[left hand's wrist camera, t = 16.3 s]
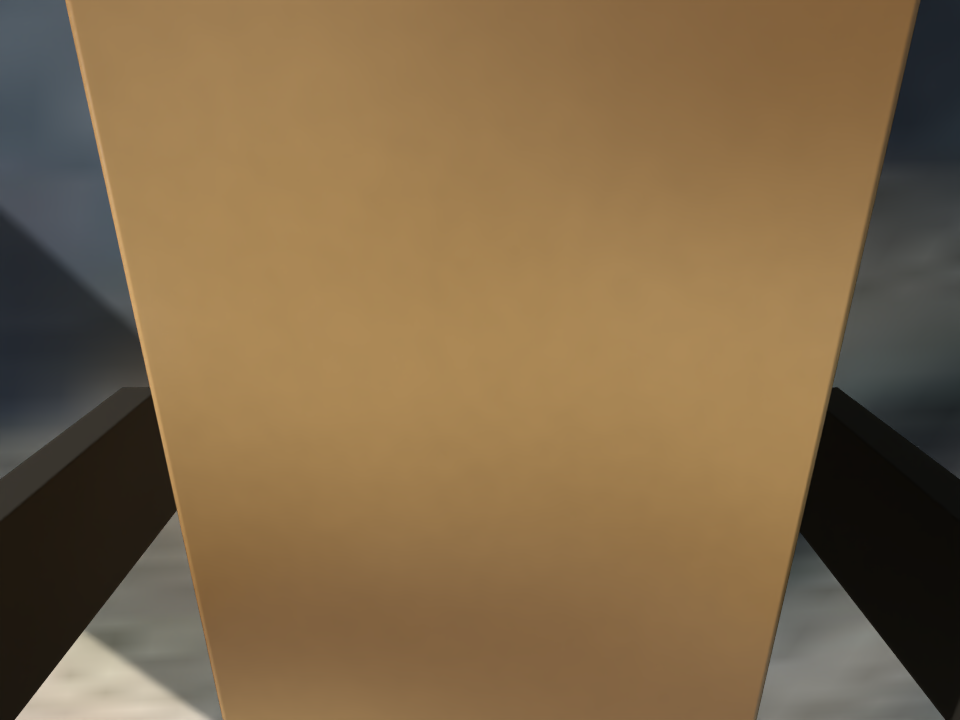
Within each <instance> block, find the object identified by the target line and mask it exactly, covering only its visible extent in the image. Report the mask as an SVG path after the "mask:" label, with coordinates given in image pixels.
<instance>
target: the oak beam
mask: <svg viewBox="0 0 960 720" xmlns="http://www.w3.org/2000/svg"><path fill="white" fill-rule="evenodd" d="M65 1H66V5H67V10H68V15H69V19H70V24H71V28H72V33H73V37H74V42H75V47H76V51H77V56H78V60H79V65H80V69H81V74H82V79H83V83H84V88H85V92H86V97H87V101H88V106H89V110H90V115H91V120H92V124H93V129H94V133H95V138H96V142H97V147H98V152H99V156H100V161H101V165H102V170H103V174H104V179H105V184H106V188H107V193H108V197H109V202H110V206H111V211H112V215H113V220H114V225H115V229H116V234H117V238H118V243H119V247H120V252H121V257H122V261H123V266H124V270H125V275H126V279H127V284H128V288H129V293H130V298H131V302H132V307H133V311H134V316H135V320H136V325H137V330H138V334H139V339H140V343H141V348H142V352H143V357H144V362H145V366H146V371H147V375H148V380H149V384H150V389H151V393H152V398H153V403H154V407H155V412H156V416H157V421H158V425H159V430H160V435H161V439H162V444H163V448H164V453H165V457H166V462H167V467H168V471H169V476H170V480H171V485H172V489H173V494H174V498H175V503H176V508H177V512H178V517H179V521H180V526H181V530H182V535H183V540H184V544H185V549H186V553H187V558H188V562H189V567H190V572H191V576H192V581H193V585H194V590H195V594H196V599H197V603H198V608H199V613H200V617H201V622H202V626H203V631H204V635H205V640H206V645H207V649H208V654H209V658H210V663H211V667H212V672H213V676H214V681H215V686H216V690H217V695H218V699H219V704H220V708H221V713H222V718H223V720H756V719H757V715H758V710H759V706H760V701H761V697H762V693H763V688H764V684H765V680H766V675H767V671H768V666H769V662H770V658H771V653H772V649H773V644H774V640H775V636H776V631H777V627H778V623H779V618H780V614H781V609H782V605H783V601H784V596H785V592H786V587H787V583H788V579H789V574H790V570H791V566H792V561H793V557H794V552H795V548H796V544H797V539H798V535H799V530H800V526H801V522H802V517H803V513H804V509H805V504H806V500H807V495H808V491H809V487H810V482H811V478H812V473H813V469H814V465H815V460H816V456H817V452H818V447H819V443H820V438H821V434H822V430H823V425H824V421H825V416H826V412H827V408H828V403H829V399H830V395H831V390H832V386H833V381H834V377H835V373H836V368H837V364H838V359H839V355H840V351H841V346H842V342H843V338H844V333H845V329H846V324H847V320H848V316H849V311H850V307H851V302H852V298H853V294H854V289H855V285H856V281H857V276H858V272H859V267H860V263H861V259H862V254H863V250H864V245H865V241H866V237H867V232H868V228H869V224H870V219H871V215H872V210H873V206H874V202H875V197H876V193H877V188H878V184H879V180H880V175H881V171H882V167H883V162H884V158H885V153H886V149H887V145H888V140H889V136H890V131H891V127H892V123H893V118H894V114H895V110H896V105H897V101H898V96H899V92H900V88H901V83H902V79H903V74H904V70H905V66H906V61H907V57H908V53H909V48H910V44H911V39H912V35H913V31H914V26H915V22H916V17H917V13H918V9H919V4H920V0H65Z"/></svg>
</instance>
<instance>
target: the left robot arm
mask: <svg viewBox="0 0 960 720" xmlns="http://www.w3.org/2000/svg"><path fill="white" fill-rule="evenodd" d="M176 511H177V508H176V503H175V498H174V494H173V489H172V485H171V480H170V476H169V471H168V467H167V462H166V457H165V453H164V448H163V444H162V439H161V435H160V430H159V425H158V421H157V416H156V412H155V407H154V403H153V398H152V393H151V389H150V388H121V389H120V390H119V391H117V392H116V393H115V394H113V395H112V396H111V397H109V398H108V399H107V400H105V401H104V402H103V403H101V404H100V405H99V406H97V407H96V408H95V409H93V410H92V411H91V412H89V413H88V414H87V415H85V416H84V417H83V418H81V419H80V420H79V421H77V422H76V423H75V424H73V425H72V426H71V427H69V428H68V429H67V430H65V431H64V432H63V433H61V434H60V435H59V436H57V437H56V438H55V439H53V440H52V441H51V442H49V443H48V444H47V445H45V446H44V447H43V448H41V449H40V450H39V451H37V452H36V453H35V454H33V455H32V456H31V457H29V458H28V459H27V460H25V461H24V462H23V463H21V464H20V465H19V466H18V467H16V468H15V469H14V470H12V471H11V472H10V473H8V474H7V475H6V476H4V477H3V478H2V479H0V720H15V719H16V717H17V716H18V715H19V714H20V712H21V711H22V710H23V708H24V707H25V706H26V704H27V703H28V702H29V701H30V699H31V698H32V697H33V695H34V694H35V693H36V692H37V690H38V689H39V688H40V686H41V685H42V684H43V682H44V681H45V680H46V679H47V677H48V676H49V675H50V673H51V672H52V671H53V670H54V668H55V667H56V666H57V664H58V663H59V662H60V661H61V659H62V658H63V657H64V655H65V654H66V653H67V651H68V650H69V649H70V648H71V646H72V645H73V644H74V642H75V641H76V640H77V639H78V637H79V636H80V635H81V633H82V632H83V631H84V630H85V628H86V627H87V626H88V624H89V623H90V622H91V620H92V619H93V618H94V617H95V615H96V614H97V613H98V611H99V610H100V609H101V608H102V606H103V605H104V604H105V602H106V601H107V600H108V599H109V597H110V596H111V595H112V593H113V592H114V591H115V589H116V588H117V587H118V586H119V584H120V583H121V582H122V580H123V579H124V578H125V577H126V575H127V574H128V573H129V571H130V570H131V569H132V568H133V566H134V565H135V564H136V562H137V561H138V560H139V558H140V557H141V556H142V555H143V553H144V552H145V551H146V549H147V548H148V547H149V546H150V544H151V543H152V542H153V540H154V539H155V538H156V537H157V535H158V534H159V533H160V531H161V530H162V529H163V527H164V526H165V525H166V524H167V522H168V521H169V520H170V518H171V517H172V516H173V515H174V513H175V512H176ZM799 531H800V533H801V534H802V535H803V537H804V538H805V539H806V540H807V542H808V543H809V544H810V546H811V547H812V548H813V549H814V551H815V552H816V553H817V555H818V556H819V557H820V558H821V560H822V561H823V562H824V564H825V565H826V566H827V568H828V569H829V570H830V571H831V573H832V574H833V575H834V577H835V578H836V579H837V580H838V582H839V583H840V584H841V586H842V587H843V588H844V589H845V591H846V592H847V593H848V595H849V596H850V597H851V599H852V600H853V601H854V602H855V604H856V605H857V606H858V608H859V609H860V610H861V611H862V613H863V614H864V615H865V617H866V618H867V619H868V620H869V622H870V623H871V624H872V626H873V627H874V628H875V630H876V631H877V632H878V633H879V635H880V636H881V637H882V639H883V640H884V641H885V642H886V644H887V645H888V646H889V648H890V649H891V650H892V651H893V653H894V654H895V655H896V657H897V658H898V659H899V661H900V662H901V663H902V664H903V666H904V667H905V668H906V670H907V671H908V672H909V673H910V675H911V676H912V677H913V679H914V680H915V681H916V683H917V684H918V685H919V686H920V688H921V689H922V690H923V692H924V693H925V694H926V695H927V697H928V698H929V699H930V701H931V702H932V703H933V704H934V706H935V707H936V708H937V710H938V711H939V712H940V714H941V715H942V716H943V717H944V719H945V720H960V479H958V478H957V477H956V476H954V475H953V474H952V473H950V472H949V471H948V470H946V469H945V468H944V467H942V466H941V465H940V464H939V463H937V462H936V461H935V460H933V459H932V458H931V457H929V456H928V455H927V454H925V453H924V452H923V451H921V450H920V449H919V448H917V447H916V446H915V445H913V444H912V443H911V442H909V441H908V440H907V439H905V438H904V437H903V436H901V435H900V434H899V433H897V432H896V431H895V430H893V429H892V428H891V427H889V426H888V425H887V424H885V423H884V422H883V421H881V420H880V419H879V418H877V417H876V416H875V415H873V414H872V413H871V412H869V411H868V410H867V409H865V408H864V407H863V406H861V405H860V404H859V403H857V402H856V401H855V400H853V399H852V398H851V397H849V396H848V395H847V394H845V393H844V392H843V391H841V390H840V389H839V388H832V390H831V395H830V399H829V403H828V408H827V412H826V416H825V421H824V425H823V430H822V434H821V438H820V443H819V447H818V452H817V456H816V460H815V465H814V469H813V473H812V478H811V482H810V487H809V491H808V495H807V500H806V504H805V509H804V513H803V517H802V522H801V526H800V530H799Z"/></svg>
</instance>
